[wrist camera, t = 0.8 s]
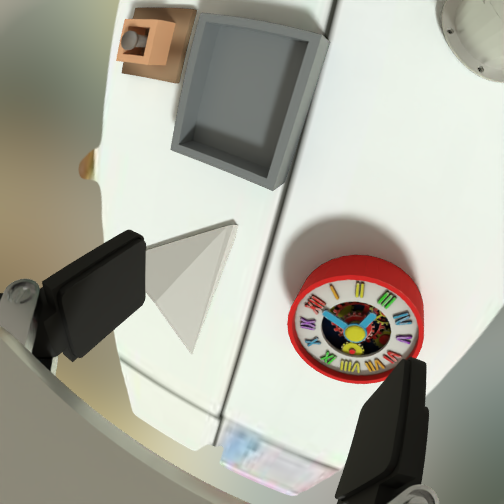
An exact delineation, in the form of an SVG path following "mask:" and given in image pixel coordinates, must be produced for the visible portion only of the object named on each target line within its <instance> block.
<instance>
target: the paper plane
mask: <svg viewBox="0 0 504 504" xmlns="http://www.w3.org/2000/svg"><path fill="white" fill-rule="evenodd" d="M237 228H238V225H228V226H225V227H221V228H218V229H215V230H211V231H208V232H205V233H201V234H198V235H195V236H191V237H188V238H185V239H181V240H178V241H175V242H172V243H168V244H165V245H162V246H159V247H155V248H152V249H149V250H146V271H145V292H146V293H147V294H148V296H149V297H150V298H151V299H152V300H153V302H154V303H155V304H156V306H157V307H158V309H159V310H160V311H161V313H162V314H163V316H164V317H165V319H166V320H167V321H168V323H169V324H170V326H171V327H172V328H173V330H174V331H175V333H176V334H177V335H178V337H179V338H180V339H181V341H182V342H183V343H184V345H185V346H186V348H187V349H188V350H189V352H190V353H191V354H193V351H194V348H195V345H196V343H197V340H198V337H199V334H200V332H201V329H202V326H203V323H204V321H205V318H206V315H207V312H208V310H209V307H210V304H211V301H212V299H213V296H214V293H215V291H216V288H217V285H218V283H219V280H220V277H221V274H222V272H223V269H224V266H225V264H226V261H227V258H228V256H229V253H230V250H231V248H232V245H233V242H234V240H235V237H236V233H237Z"/></svg>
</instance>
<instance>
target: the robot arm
mask: <svg viewBox="0 0 504 504" xmlns="http://www.w3.org/2000/svg"><path fill="white" fill-rule="evenodd" d="M441 23H442V29H443V33H444V36H445V39H446V41H447V43H448V45H449V47H450V49H451V50H452V51H453V53H454V54H455V56H456V57H457V58H458V59H459V60H460V62H461V63H462V64H463V65H464V66H466V67H467V68H468V69H469V70H470V71H472V72H473V73H475V74H476V75H478V76H479V77H482V78H484V79H486V80H489V81H493V82H499V83H504V0H446V1H445V4H444V6H443V10H442V16H441ZM448 31H451V34H449V33H448ZM478 68H480V69H481V71H480V72H479V71H478ZM145 271H146V243H145V241H144V238H143V236H142V235H140V234H138V233H136V232H134V231H132V230H126V231H124V232H123V233H121V234H119V235H117V236H116V237H114V238H112V239H110V240H109V241H107V242H105V243H104V244H102V245H100V246H99V247H97V248H95V249H94V250H92V251H90V252H89V253H87V254H85V255H84V256H82V257H80V258H79V259H77V260H76V261H74V262H72V263H71V264H69V265H67V266H66V267H64V268H63V269H61V270H60V271H58V272H56V273H55V274H53V275H52V276H50V277H49V278H47V279H46V280H44V281H42V284H43V287H42V288H41V289H40V288H39V285H38V284H37V283H36V282H35V281H33V280H30V279H20V280H17V281H14V282H13V283H11V284H10V285H9V286H7V288H6V289H5V291H4V293H0V504H250V503H248V502H245V501H243V500H241V499H239V498H236V497H234V496H232V495H230V494H228V493H226V492H223V491H222V490H220V489H217V488H215V487H214V486H211V485H210V484H207V483H206V482H204V481H202V480H200V479H198V478H196V477H195V476H193V475H191V474H189V473H187V472H186V471H184V470H182V469H180V468H179V467H177V466H175V465H174V464H172V463H170V462H169V461H167V460H165V459H164V458H162V457H160V456H159V455H157V454H156V453H154V452H153V451H151V450H149V449H148V448H146V447H145V446H143V445H142V444H140V443H139V442H137V441H136V440H134V439H133V438H132V437H130V436H129V435H127V434H126V433H124V432H123V431H122V430H120V429H119V428H117V427H116V426H115V425H114V424H112V423H111V422H110V421H108V420H107V419H106V418H104V417H103V416H102V415H100V414H99V413H98V412H97V411H95V410H94V409H93V408H92V407H90V406H89V405H88V404H87V403H85V402H84V401H83V400H82V399H81V398H79V397H78V396H77V395H76V394H75V393H73V392H72V391H71V390H70V389H69V388H68V387H67V386H66V385H65V384H63V383H62V382H61V381H60V380H59V379H58V378H57V377H56V368H57V361H58V355H59V354H60V353H61V352H63V354H64V355H65V356H66V357H67V358H68V359H70V360H71V361H72V362H73V361H74V360H76V359H77V358H81V357H83V356H84V355H86V354H87V353H88V352H89V351H90V350H91V349H92V348H93V347H95V346H96V345H97V344H98V343H99V342H100V341H101V340H102V339H104V338H105V337H106V336H107V335H108V334H110V333H111V332H112V331H113V330H114V329H115V328H116V327H118V326H119V325H120V324H121V323H122V322H123V321H125V320H126V319H127V318H128V317H129V316H130V315H131V314H133V313H134V312H135V311H136V310H137V309H138V308H140V307H141V306H142V305H143V303H144V301H145ZM425 395H426V363H425V362H423V361H421V360H418V359H416V358H413V357H409V358H408V359H407V360H406V359H402V360H401V361H400V362H399V363H398V364H397V366H396V367H395V368H394V369H393V371H392V372H391V373H390V374H389V376H388V377H387V378H386V379H385V381H384V382H383V383H382V384H381V385H380V386H379V388H378V389H377V390H376V391H375V392H374V393H373V395H372V396H371V397H370V398H369V399H368V400H367V401H366V403H365V404H364V405H363V407H362V409H361V411H360V415H359V419H358V422H357V426H356V430H355V434H354V437H353V441H352V444H351V447H350V451H349V454H348V457H347V461H346V464H345V467H344V470H343V474H342V476H341V479H340V482H339V485H338V488H337V491H336V494H335V498H336V499H338V502H337V504H439V499H438V497H437V495H436V493H435V492H434V491H433V490H432V489H431V488H430V487H428V486H426V485H421V481H422V475H423V468H424V461H425V452H426V443H427V433H428V421H429V410H428V408H427V407H425Z"/></svg>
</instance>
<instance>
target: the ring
mask: <svg viewBox="0 0 504 504" xmlns="http://www.w3.org/2000/svg"><path fill="white" fill-rule="evenodd" d="M175 24H176V23H173V22H168V21H163V20H154V19H125V21H124V25H123V30H122V34H121V39H122V36H123V35H124V33H126V32H127V31H135V32H136V33H137V34H138V35H145V32H146V28H150V30H149V34H148V39H147V43H146V48H145V52H144V55H141V50H142V47H135V48H133V49H132V50H125V49H123V48H122V46H121V39H120V44H119V49H118V54H117V59H116V61H123V62H130V63H138V64H145V65H166V62H167V57H168V53H169V49H170V44H171V40H172V36H173V32H174V28H175Z"/></svg>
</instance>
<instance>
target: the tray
mask: <svg viewBox="0 0 504 504" xmlns="http://www.w3.org/2000/svg"><path fill="white" fill-rule="evenodd" d="M329 44H330V41H328V40H327V39H326V38H325V37H324V36H323V35H320V34H317V33H313V32H309V31H305V30H301V29H297V28H293V27H289V26H284V25H280V24H275V23H270V22H265V21H259V20H253V19H247V18H241V17H234V16H226V15H218V14H208V13H201V14H200V17H199V21H198V25H197V28H196V32H195V36H194V40H193V44H192V48H191V52H190V56H189V60H188V64H187V69H186V73H185V78H184V82H183V87H182V91H181V96H180V101H179V106H178V111H177V116H176V122H175V127H174V133H173V138H172V144H171V150H172V151H175V152H177V153H180V154H183V155H185V156H188V157H191V158H193V159H196V160H198V161H201V162H203V163H206V164H209V165H211V166H214V167H216V168H219V169H221V170H224V171H226V172H229V173H231V174H234V175H236V176H238V177H241V178H243V179H246V180H248V181H250V182H253V183H255V184H258V185H260V186H262V187H265V188H267V189H269V190H272V191H274V190H275V189H276V188H278V187H279V186H280V185H282V184H283V183H284V182H285V180H286V177H287V174H288V171H289V168H290V165H291V162H292V159H293V156H294V153H295V150H296V147H297V144H298V141H299V137H300V134H301V131H302V128H303V125H304V122H305V119H306V116H307V113H308V110H309V107H310V103H311V100H312V97H313V94H314V91H315V88H316V85H317V82H318V78H319V75H320V72H321V69H322V66H323V63H324V60H325V56H326V53H327V50H328V47H329Z"/></svg>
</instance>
